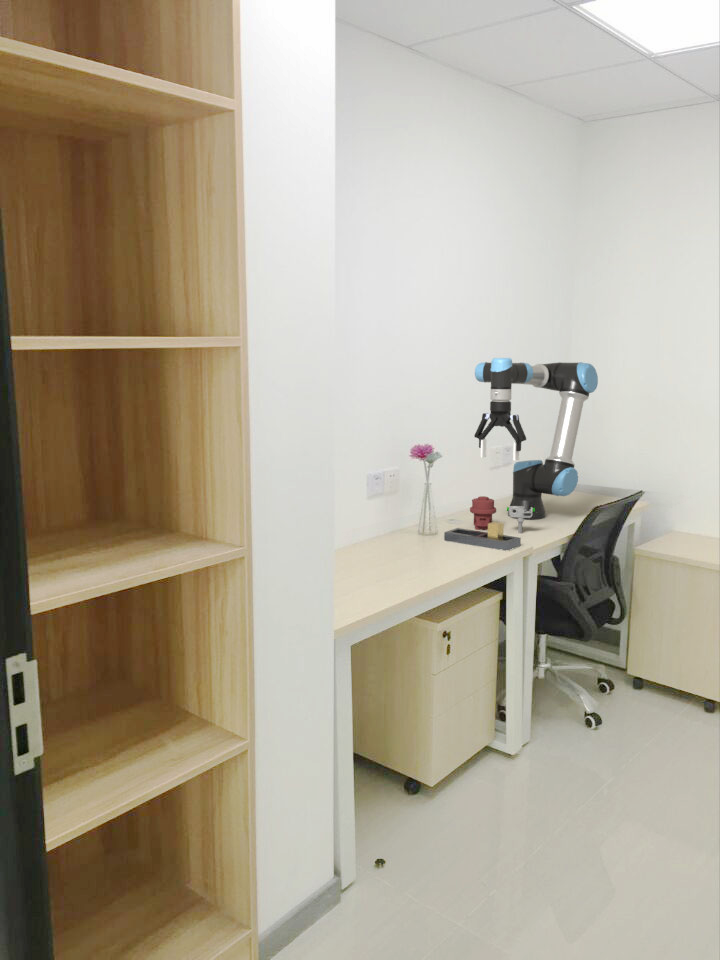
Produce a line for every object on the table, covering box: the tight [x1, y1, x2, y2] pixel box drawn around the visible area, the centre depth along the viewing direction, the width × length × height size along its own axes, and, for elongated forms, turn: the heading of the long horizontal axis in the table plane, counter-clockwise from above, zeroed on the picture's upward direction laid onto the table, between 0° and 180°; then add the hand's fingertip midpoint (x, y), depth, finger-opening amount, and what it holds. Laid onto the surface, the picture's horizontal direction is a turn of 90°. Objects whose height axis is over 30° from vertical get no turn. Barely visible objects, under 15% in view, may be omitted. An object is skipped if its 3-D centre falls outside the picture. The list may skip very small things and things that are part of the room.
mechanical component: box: [506, 505, 535, 534], centre depth 315 cm, size 3×10×10 cm, turn 79°
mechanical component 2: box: [469, 495, 497, 531], centre depth 322 cm, size 12×10×10 cm
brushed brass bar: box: [487, 521, 505, 540], centre depth 295 cm, size 4×4×8 cm
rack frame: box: [443, 527, 521, 551], centre depth 300 cm, size 9×26×3 cm, turn 51°
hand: (499, 458), depth 308 cm, fingers open, 13 cm apart
